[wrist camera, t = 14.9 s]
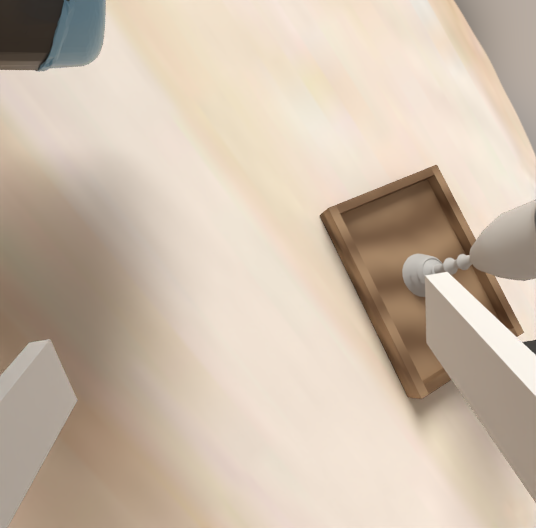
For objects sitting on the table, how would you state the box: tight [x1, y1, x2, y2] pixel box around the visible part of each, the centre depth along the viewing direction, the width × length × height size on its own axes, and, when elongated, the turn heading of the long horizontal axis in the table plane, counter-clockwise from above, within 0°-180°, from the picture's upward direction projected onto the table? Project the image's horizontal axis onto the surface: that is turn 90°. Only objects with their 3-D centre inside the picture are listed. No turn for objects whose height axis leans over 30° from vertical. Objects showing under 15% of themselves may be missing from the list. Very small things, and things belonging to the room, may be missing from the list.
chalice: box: [402, 200, 536, 297], centre depth 39 cm, size 7×7×18 cm
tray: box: [320, 165, 524, 399], centre depth 48 cm, size 22×16×2 cm
